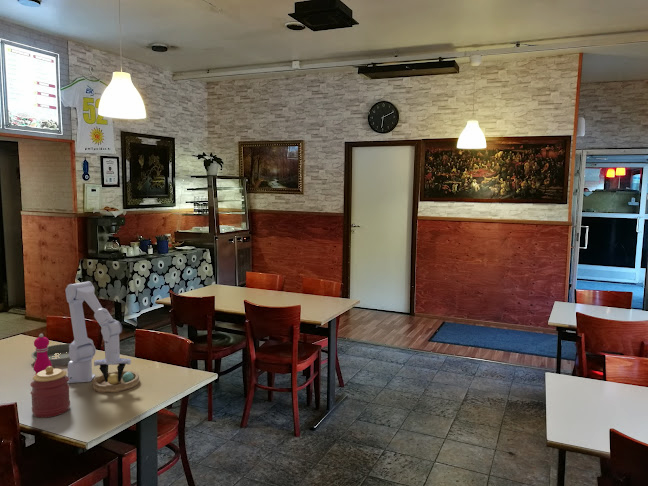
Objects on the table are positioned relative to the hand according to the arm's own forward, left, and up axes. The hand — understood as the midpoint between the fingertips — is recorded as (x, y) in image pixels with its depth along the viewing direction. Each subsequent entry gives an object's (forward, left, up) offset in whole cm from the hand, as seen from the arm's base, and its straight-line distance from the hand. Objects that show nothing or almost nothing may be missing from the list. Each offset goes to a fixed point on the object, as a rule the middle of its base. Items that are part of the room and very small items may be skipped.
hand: (113, 381), depth 211 cm
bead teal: (+5, +5, -3) cm, 7 cm away
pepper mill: (-35, +19, -4) cm, 40 cm away
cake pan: (-36, +43, -4) cm, 56 cm away
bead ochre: (0, 0, -1) cm, 1 cm away
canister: (-18, -19, -4) cm, 27 cm away
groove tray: (0, +5, -3) cm, 6 cm away
